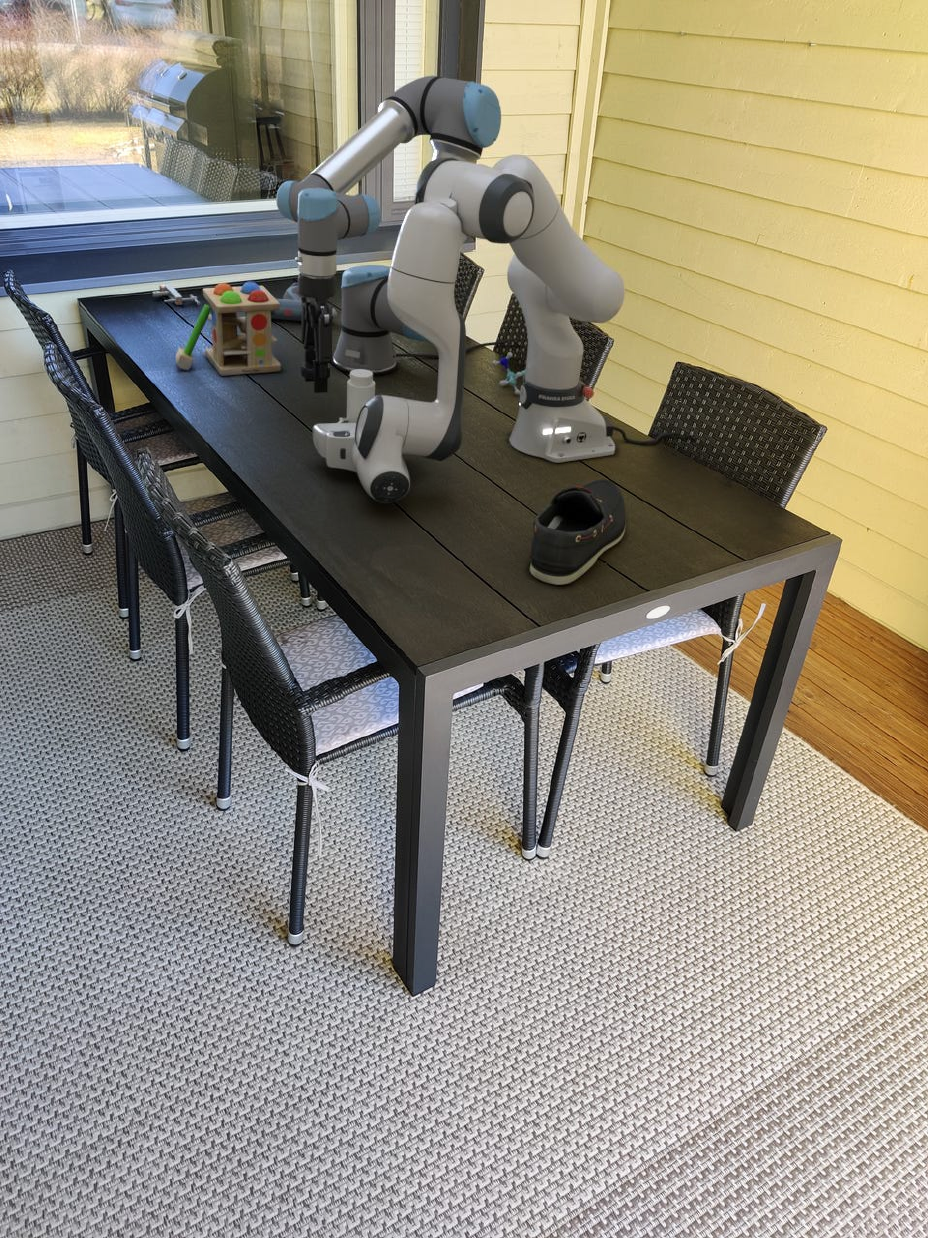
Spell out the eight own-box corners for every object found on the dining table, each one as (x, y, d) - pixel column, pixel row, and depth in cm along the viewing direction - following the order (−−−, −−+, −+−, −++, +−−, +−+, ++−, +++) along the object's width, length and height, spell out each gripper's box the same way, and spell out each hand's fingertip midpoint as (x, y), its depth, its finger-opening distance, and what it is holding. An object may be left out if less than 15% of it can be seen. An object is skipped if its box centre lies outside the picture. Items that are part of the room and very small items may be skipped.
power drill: (344, 304, 276) (335, 327, 259) (277, 298, 275) (264, 321, 258) (344, 285, 273) (335, 306, 256) (277, 279, 272) (264, 300, 255)
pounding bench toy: (183, 379, 220) (176, 299, 210) (169, 357, 231) (162, 280, 221) (282, 371, 230) (280, 294, 220) (264, 350, 240) (262, 276, 230)
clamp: (148, 285, 268) (184, 283, 272) (149, 293, 269) (185, 291, 274) (164, 302, 257) (201, 299, 262) (164, 310, 259) (202, 307, 263)
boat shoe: (648, 521, 183) (657, 470, 178) (567, 591, 159) (574, 534, 154) (587, 503, 189) (593, 452, 184) (499, 567, 165) (504, 512, 160)
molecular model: (536, 387, 225) (523, 344, 224) (499, 400, 229) (485, 359, 227) (549, 385, 235) (536, 345, 234) (513, 399, 239) (500, 359, 238)
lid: (323, 382, 203) (323, 372, 201) (296, 377, 204) (296, 367, 203) (334, 373, 207) (334, 363, 206) (308, 368, 209) (308, 358, 207)
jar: (340, 451, 197) (341, 372, 188) (357, 443, 201) (359, 365, 192) (361, 459, 195) (363, 379, 186) (378, 451, 198) (381, 373, 189)
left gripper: (285, 261, 200) (286, 371, 212) (313, 287, 186) (312, 404, 199) (320, 260, 203) (319, 369, 215) (350, 286, 189) (347, 401, 201)
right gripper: (427, 432, 185) (411, 403, 196) (319, 436, 180) (308, 406, 190) (425, 463, 189) (409, 433, 199) (319, 467, 183) (308, 436, 194)
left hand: (316, 386), depth 207 cm, fingers closed on lid, 6 cm apart
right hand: (359, 420), depth 195 cm, fingers closed on jar, 5 cm apart
